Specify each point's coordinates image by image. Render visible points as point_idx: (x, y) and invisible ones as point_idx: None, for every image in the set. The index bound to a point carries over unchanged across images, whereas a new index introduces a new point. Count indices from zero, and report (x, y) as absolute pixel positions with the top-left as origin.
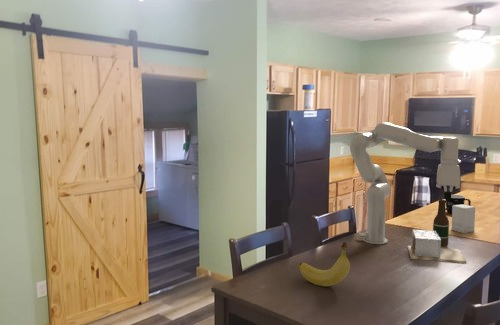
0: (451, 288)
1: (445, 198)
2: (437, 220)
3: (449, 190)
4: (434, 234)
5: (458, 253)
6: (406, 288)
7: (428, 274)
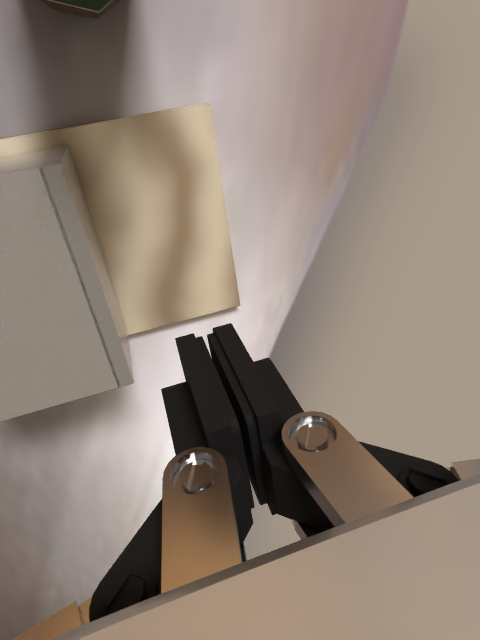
0: None
1: (183, 369)
2: None
3: (293, 518)
4: (73, 284)
5: (208, 197)
6: (69, 598)
7: (107, 485)
